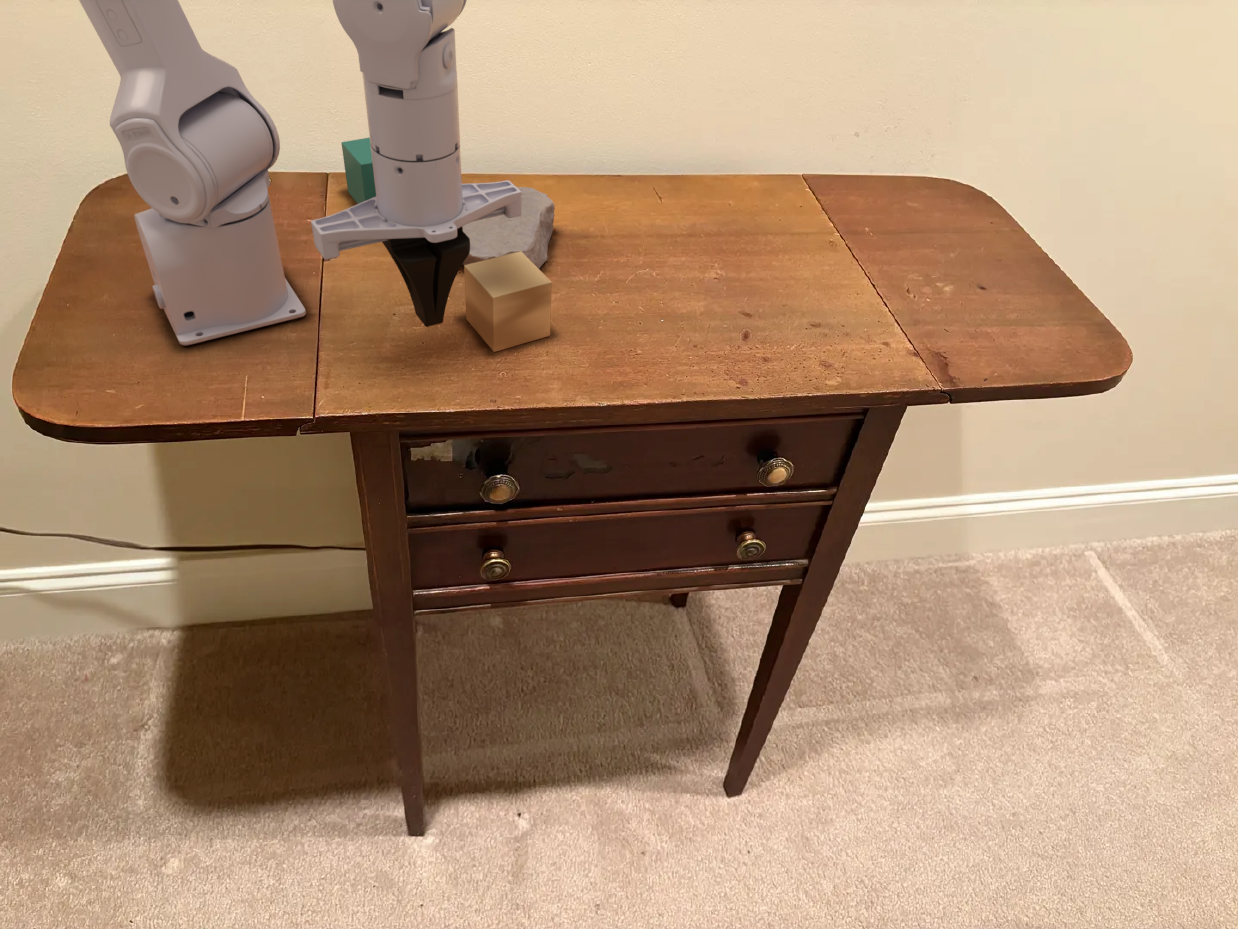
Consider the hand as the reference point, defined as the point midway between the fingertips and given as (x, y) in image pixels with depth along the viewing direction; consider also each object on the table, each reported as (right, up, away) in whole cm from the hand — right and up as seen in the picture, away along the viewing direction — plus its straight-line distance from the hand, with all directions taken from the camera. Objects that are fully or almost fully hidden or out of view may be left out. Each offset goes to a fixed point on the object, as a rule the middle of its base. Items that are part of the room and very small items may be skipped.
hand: (429, 318), depth 69 cm
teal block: (-8, +14, +19) cm, 25 cm away
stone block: (+2, +8, +14) cm, 16 cm away
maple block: (+5, 0, +5) cm, 7 cm away
